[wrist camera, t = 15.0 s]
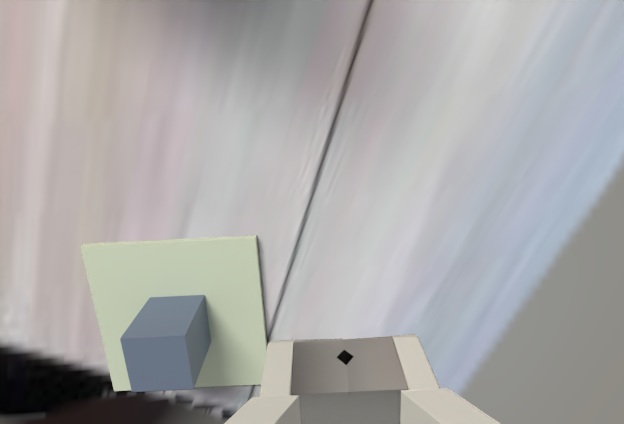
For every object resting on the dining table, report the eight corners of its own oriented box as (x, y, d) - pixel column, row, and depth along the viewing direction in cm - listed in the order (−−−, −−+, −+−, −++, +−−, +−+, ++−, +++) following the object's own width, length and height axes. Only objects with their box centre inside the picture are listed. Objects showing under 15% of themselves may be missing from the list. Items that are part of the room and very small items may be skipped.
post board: (256, 235, 39) (247, 261, 33) (270, 378, 44) (264, 422, 38) (84, 243, 39) (47, 271, 33) (117, 385, 44) (89, 430, 38)
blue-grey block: (204, 294, 40) (184, 335, 34) (211, 341, 41) (193, 389, 35) (149, 297, 40) (119, 338, 34) (158, 344, 41) (131, 391, 35)
